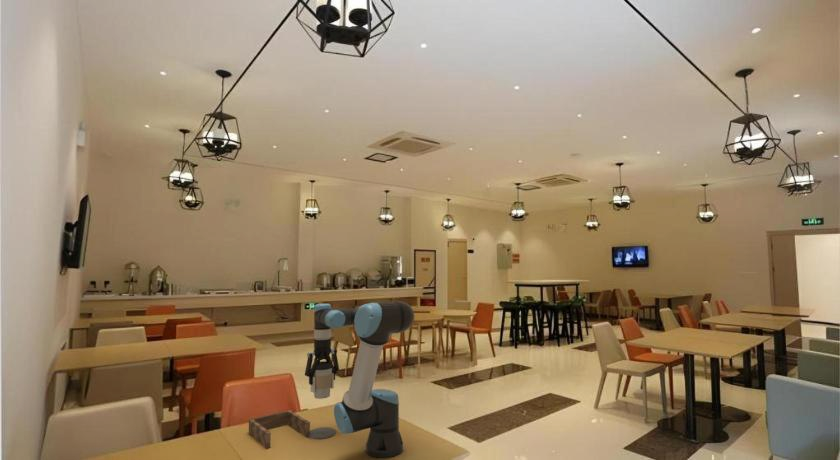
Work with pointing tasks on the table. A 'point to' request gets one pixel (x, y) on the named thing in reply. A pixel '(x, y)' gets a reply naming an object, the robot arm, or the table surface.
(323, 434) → the coaster
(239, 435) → the table surface
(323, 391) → the coffee cup
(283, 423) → the brown rectangular open frame
